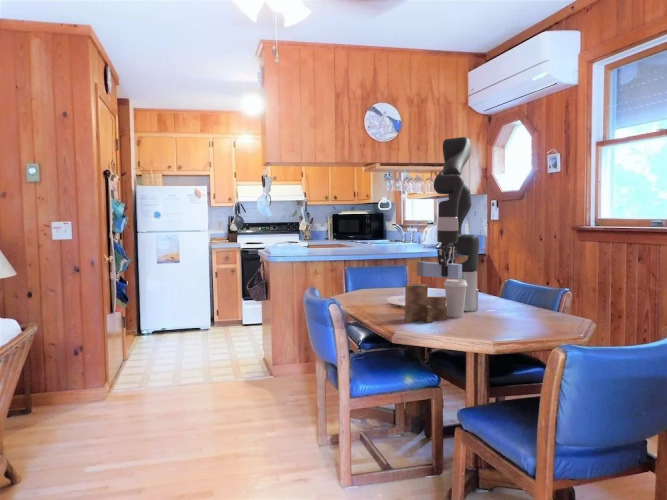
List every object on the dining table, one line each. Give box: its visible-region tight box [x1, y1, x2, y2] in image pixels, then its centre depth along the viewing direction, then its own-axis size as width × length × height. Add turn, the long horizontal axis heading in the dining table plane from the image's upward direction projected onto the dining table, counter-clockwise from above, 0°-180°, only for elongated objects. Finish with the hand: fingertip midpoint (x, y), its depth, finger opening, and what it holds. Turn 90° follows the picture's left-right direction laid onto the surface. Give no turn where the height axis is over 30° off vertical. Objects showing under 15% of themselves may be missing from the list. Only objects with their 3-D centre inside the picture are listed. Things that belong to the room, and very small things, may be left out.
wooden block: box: [404, 283, 447, 324], centre depth 197 cm, size 17×8×14 cm, turn 95°
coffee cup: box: [443, 278, 468, 319], centre depth 206 cm, size 10×10×15 cm
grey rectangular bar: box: [416, 260, 462, 279], centre depth 185 cm, size 16×4×5 cm, turn 56°
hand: (446, 275), depth 184 cm, fingers closed on grey rectangular bar, 4 cm apart
